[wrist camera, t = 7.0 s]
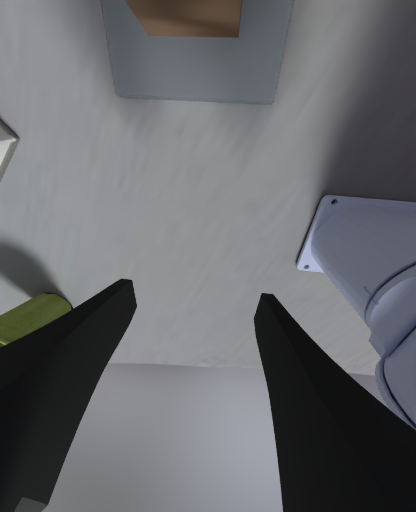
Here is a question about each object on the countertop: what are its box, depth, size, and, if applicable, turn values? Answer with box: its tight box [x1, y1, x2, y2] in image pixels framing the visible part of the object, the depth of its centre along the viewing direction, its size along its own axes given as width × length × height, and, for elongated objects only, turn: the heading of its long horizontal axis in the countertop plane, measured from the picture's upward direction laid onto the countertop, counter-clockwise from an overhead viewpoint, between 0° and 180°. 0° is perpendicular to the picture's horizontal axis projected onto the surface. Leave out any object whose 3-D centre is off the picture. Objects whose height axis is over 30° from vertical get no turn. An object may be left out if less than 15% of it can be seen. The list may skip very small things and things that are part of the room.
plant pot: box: [0, 293, 72, 347], centre depth 25 cm, size 9×9×9 cm
